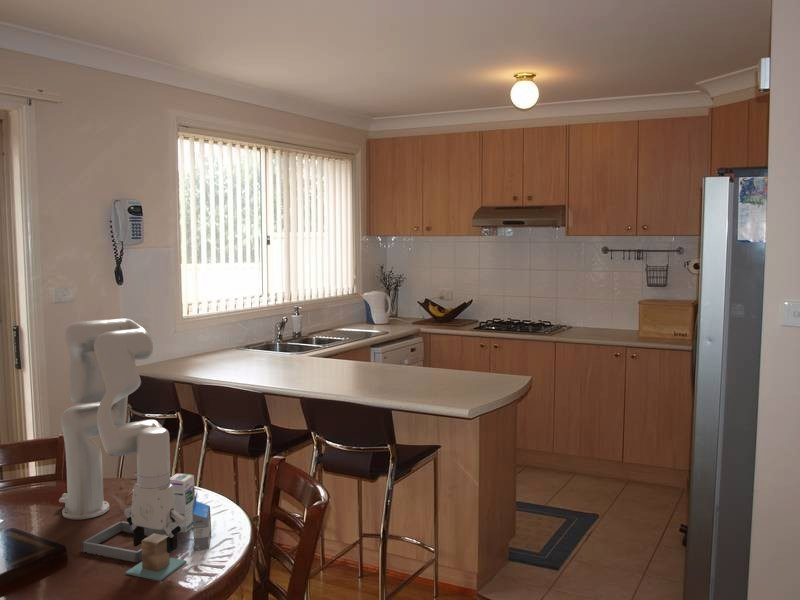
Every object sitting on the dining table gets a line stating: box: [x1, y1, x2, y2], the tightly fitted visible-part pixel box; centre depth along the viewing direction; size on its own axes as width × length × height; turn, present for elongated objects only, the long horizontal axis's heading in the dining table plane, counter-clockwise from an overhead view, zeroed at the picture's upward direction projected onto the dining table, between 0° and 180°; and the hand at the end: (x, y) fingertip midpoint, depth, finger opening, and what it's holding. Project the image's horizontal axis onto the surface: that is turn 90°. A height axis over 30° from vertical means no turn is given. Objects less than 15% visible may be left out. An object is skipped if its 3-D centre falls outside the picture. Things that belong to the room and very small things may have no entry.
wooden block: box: [141, 533, 171, 572], centre depth 175 cm, size 4×4×7 cm
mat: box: [125, 557, 187, 582], centre depth 175 cm, size 10×10×1 cm
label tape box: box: [192, 492, 212, 551], centre depth 189 cm, size 9×4×12 cm, turn 10°
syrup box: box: [169, 473, 196, 534], centre depth 198 cm, size 6×6×14 cm
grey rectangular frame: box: [80, 520, 168, 564], centre depth 187 cm, size 17×14×2 cm
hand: (155, 547), depth 175 cm, fingers open, 9 cm apart
